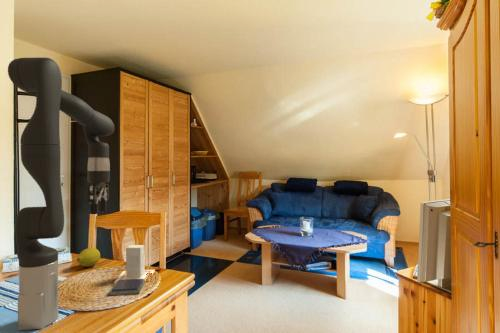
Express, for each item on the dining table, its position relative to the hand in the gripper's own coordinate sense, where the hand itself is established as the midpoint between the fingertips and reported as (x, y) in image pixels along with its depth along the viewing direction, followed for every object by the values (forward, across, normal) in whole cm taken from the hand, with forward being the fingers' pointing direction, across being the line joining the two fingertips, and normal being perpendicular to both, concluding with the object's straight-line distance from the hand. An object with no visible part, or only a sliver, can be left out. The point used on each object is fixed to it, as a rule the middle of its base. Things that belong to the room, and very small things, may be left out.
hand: (98, 212), depth 111 cm
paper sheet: (+27, +6, -12) cm, 30 cm away
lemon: (+27, +21, +12) cm, 36 cm away
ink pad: (+27, -5, -12) cm, 30 cm away
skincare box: (+27, +6, -12) cm, 30 cm away
